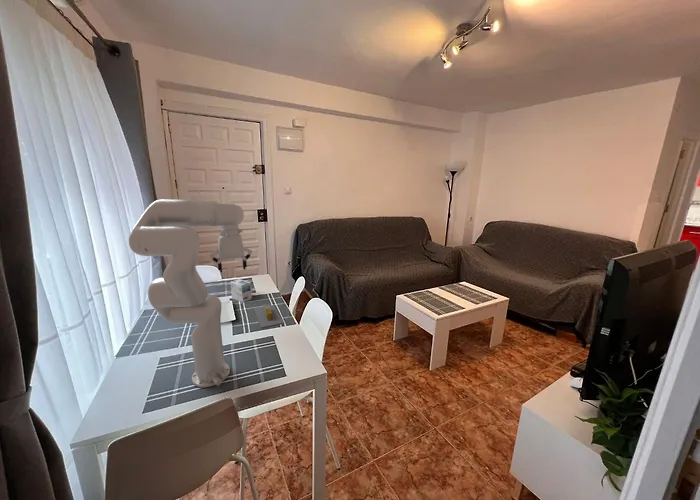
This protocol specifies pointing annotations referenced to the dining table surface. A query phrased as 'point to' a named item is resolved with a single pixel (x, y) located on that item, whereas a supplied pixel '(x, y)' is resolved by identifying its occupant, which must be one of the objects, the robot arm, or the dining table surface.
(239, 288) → the light bulb box
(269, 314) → the medication box
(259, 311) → the placemat
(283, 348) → the dining table surface
